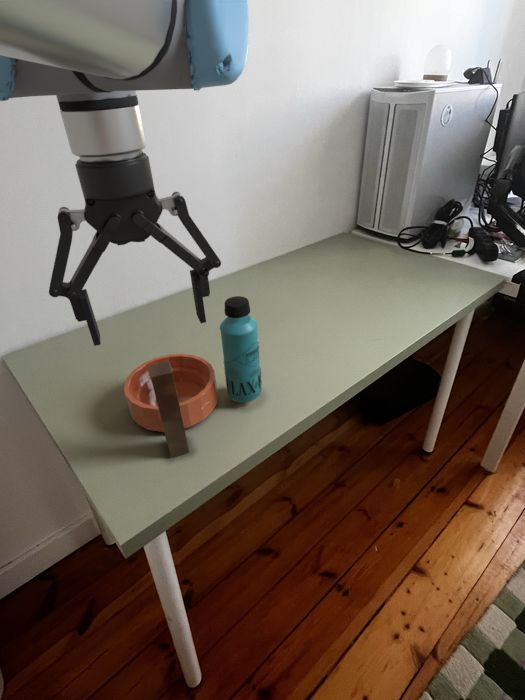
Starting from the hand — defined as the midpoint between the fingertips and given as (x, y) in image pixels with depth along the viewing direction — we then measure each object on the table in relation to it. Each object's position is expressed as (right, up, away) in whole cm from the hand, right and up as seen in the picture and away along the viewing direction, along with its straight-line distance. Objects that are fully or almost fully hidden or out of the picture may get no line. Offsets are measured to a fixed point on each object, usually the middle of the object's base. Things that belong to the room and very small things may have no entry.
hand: (150, 329), depth 57 cm
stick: (+1, -19, +13) cm, 23 cm away
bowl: (-1, -13, +22) cm, 25 cm away
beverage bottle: (+12, -12, +23) cm, 28 cm away
